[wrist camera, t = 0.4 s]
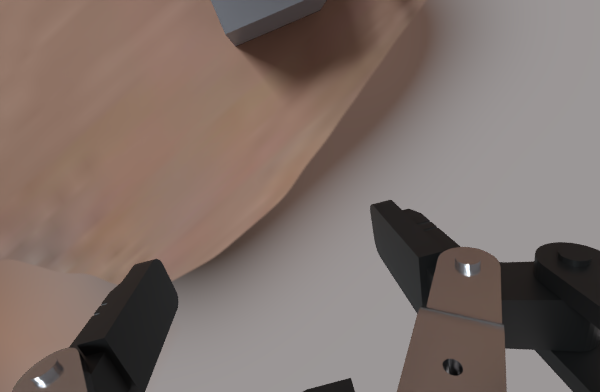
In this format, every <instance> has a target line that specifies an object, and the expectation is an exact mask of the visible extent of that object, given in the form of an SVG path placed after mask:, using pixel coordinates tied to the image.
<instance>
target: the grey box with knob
mask: <svg viewBox="0 0 600 392" xmlns="http://www.w3.org/2000/svg"><path fill="white" fill-rule="evenodd" d="M326 1H327V0H211V2H212V4H213V6H214V9H215V11H216V13H217V16H218V18H219V20H220V23H221V25H222V27H223V30H224V32H225V34H226V36H227V37H228V38H229V39H230V40H231V42H232V43H233V44H234V45H235V46H237V45H240V44H242V43H245V42H247V41H249V40H252V39H254V38H256V37H259V36H261V35H263V34H266V33H268V32H270V31H273V30H275V29H277V28H280V27H282V26H284V25H287V24H289V23H291V22H294V21H296V20H298V19H301V18H303V17H305V16H308V15H310V14H312V13H315V12H317V11H319V10H320V9H321V8H322V6H323V5H324V4H325V2H326Z"/></svg>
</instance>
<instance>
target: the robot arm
mask: <svg viewBox="0 0 600 392" xmlns="http://www.w3.org/2000/svg"><path fill="white" fill-rule="evenodd" d="M370 212H371V219H372V226H373V233H374V239H375V244H376V248H377V251H378V253H379V255H380V257H381V259H382V260H383V262H384V263H385V265H386V266H387V268H388V269H389V271H390V273H391V274H392V276H393V277H394V279H395V280H396V282H397V283H398V285H399V286H400V288H401V289H402V291H403V292H404V294H405V295H406V297H407V298H408V300H409V301H410V303H411V305H412V306H413V308H414V309H415V311H416V312H417V318H416V322H415V325H414V329H413V333H412V337H411V341H410V344H409V348H408V352H407V356H406V359H405V363H404V367H403V371H402V375H401V378H400V382H399V386H398V390H397V392H506V365H505V364H506V363H505V348H510V349H532V350H535V351H536V352H537V353H538V354H539V355H540V356H541V357H542V358H543V359H544V360H545V362H546V363H547V364H548V365H549V366H550V367H551V368H552V369H553V370H554V372H555V373H556V374H557V375H558V376H559V377H560V378H561V379H562V380H563V381H564V382H565V383H566V385H567V386H568V387H569V388H570V389H571V390H572V391H573V392H600V251H599V250H596V249H594V248H591V247H588V246H584V245H580V244H574V243H562V242H558V243H550V244H545V245H543V246H540V247H539V248H538V249H537V250H536V253H535V261H534V262H510V263H502V262H499V261H498V260H497V259H496V258H495V257H494V256H492V255H491V254H489V253H487V252H485V251H483V250H480V249H476V248H470V247H460V246H459V245H458V244H457V243H455V242H454V241H453V240H452V239H451V238H450V237H448V236H447V235H446V234H445V233H444V232H443V231H441V230H440V229H439V228H437V227H436V226H435V225H434V224H433V223H432V222H430V221H429V220H428V219H427V218H426V217H425V216H423V215H422V214H421V213H419V212H416V211H413V210H411V209H406V210H401V209H400V208H399V207H398V206H397V205H396V204H395V203H394V202H393V201H392V200H388V201H384V202H380V203H376V204H372V205H371V206H370ZM177 308H178V296H177V292H176V290H175V288H174V286H173V284H172V282H171V280H170V278H169V276H168V274H167V272H166V270H165V268H164V266H163V264H162V262H161V261H160V260H158V259H154V260H150V261H146V262H143V263H139V264H135V265H134V266H133V267H132V269H131V270H130V272H129V273H128V274H127V276H126V277H125V279H124V280H123V281H122V282H121V283H120V284H119V285H118V286H117V287H116V288H114V289H113V290H112V291H111V292H110V293H109V294H108V296H107V297H106V298H105V300H104V301H103V302H102V306H100V307H99V308H98V309H97V310H96V312H95V313H94V316H92V317H91V319H90V320H89V321H88V323H87V324H86V325H85V327H84V328H83V329H82V331H81V332H80V334H79V335H78V336H77V337H76V339H75V340H74V342H73V343H72V344H71V345H70V347H69V348H65V349H62V350H59V351H56V352H54V353H53V354H50V355H49V356H47V357H45V358H44V359H42V360H41V361H39V362H38V363H36V364H35V365H34V366H33V367H31V368H30V369H29V370H28V371H27V372H26V373H25V374H24V375H23V376H22V377H21V378H20V379H19V381H18V382H17V383H16V385H15V386H14V388H13V391H12V392H145V390H146V388H147V385H148V383H149V380H150V377H151V375H152V372H153V369H154V367H155V365H156V362H157V359H158V357H159V354H160V352H161V349H162V347H163V344H164V342H165V339H166V336H167V334H168V331H169V329H170V326H171V324H172V321H173V318H174V316H175V313H176V311H177ZM304 392H355V391H354V387H353V384H352V381H351V378H349V379H345V380H341V381H338V382H334V383H330V384H326V385H323V386H319V387H315V388H311V389H307V390H305V391H304Z"/></svg>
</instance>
